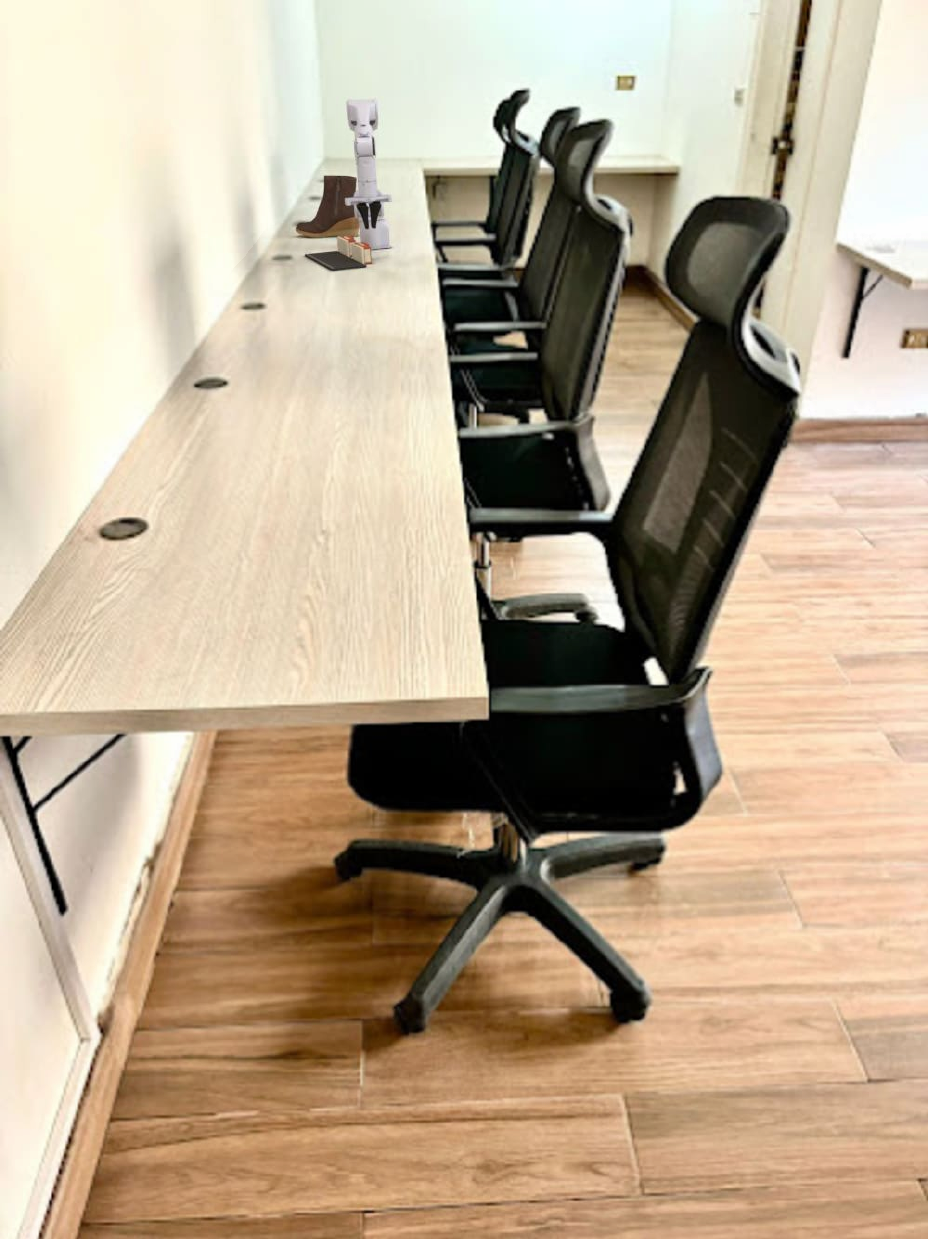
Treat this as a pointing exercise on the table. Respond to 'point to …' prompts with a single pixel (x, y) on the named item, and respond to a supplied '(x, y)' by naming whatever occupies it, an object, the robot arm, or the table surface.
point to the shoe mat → (335, 261)
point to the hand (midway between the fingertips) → (370, 228)
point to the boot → (333, 210)
